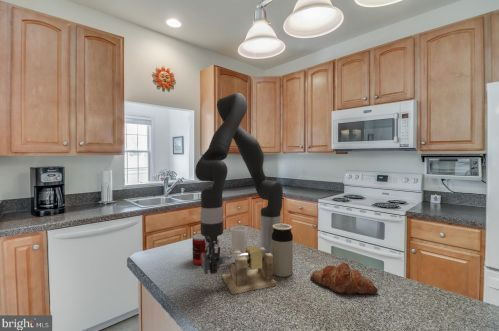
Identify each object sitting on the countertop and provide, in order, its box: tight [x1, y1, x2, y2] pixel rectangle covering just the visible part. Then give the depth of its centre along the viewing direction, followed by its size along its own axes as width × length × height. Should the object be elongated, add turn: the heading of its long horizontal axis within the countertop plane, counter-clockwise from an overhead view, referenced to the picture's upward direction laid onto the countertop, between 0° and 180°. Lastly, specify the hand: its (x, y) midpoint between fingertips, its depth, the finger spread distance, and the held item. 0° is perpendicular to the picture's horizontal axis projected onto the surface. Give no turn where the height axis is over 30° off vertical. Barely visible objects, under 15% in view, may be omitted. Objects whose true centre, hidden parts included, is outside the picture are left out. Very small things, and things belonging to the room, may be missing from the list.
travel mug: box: [272, 223, 294, 278], centre depth 96 cm, size 8×8×18 cm
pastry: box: [309, 261, 379, 296], centre depth 86 cm, size 17×15×8 cm
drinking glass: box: [230, 225, 248, 253], centre depth 104 cm, size 7×7×15 cm
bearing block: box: [221, 246, 277, 295], centre depth 89 cm, size 16×12×10 cm
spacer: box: [246, 245, 262, 270], centre depth 90 cm, size 4×6×6 cm, turn 20°
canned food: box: [191, 232, 207, 266], centre depth 107 cm, size 8×8×11 cm
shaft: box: [201, 250, 268, 275], centre depth 88 cm, size 23×6×5 cm, turn 110°
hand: (212, 270), depth 85 cm, fingers closed on shaft, 3 cm apart
